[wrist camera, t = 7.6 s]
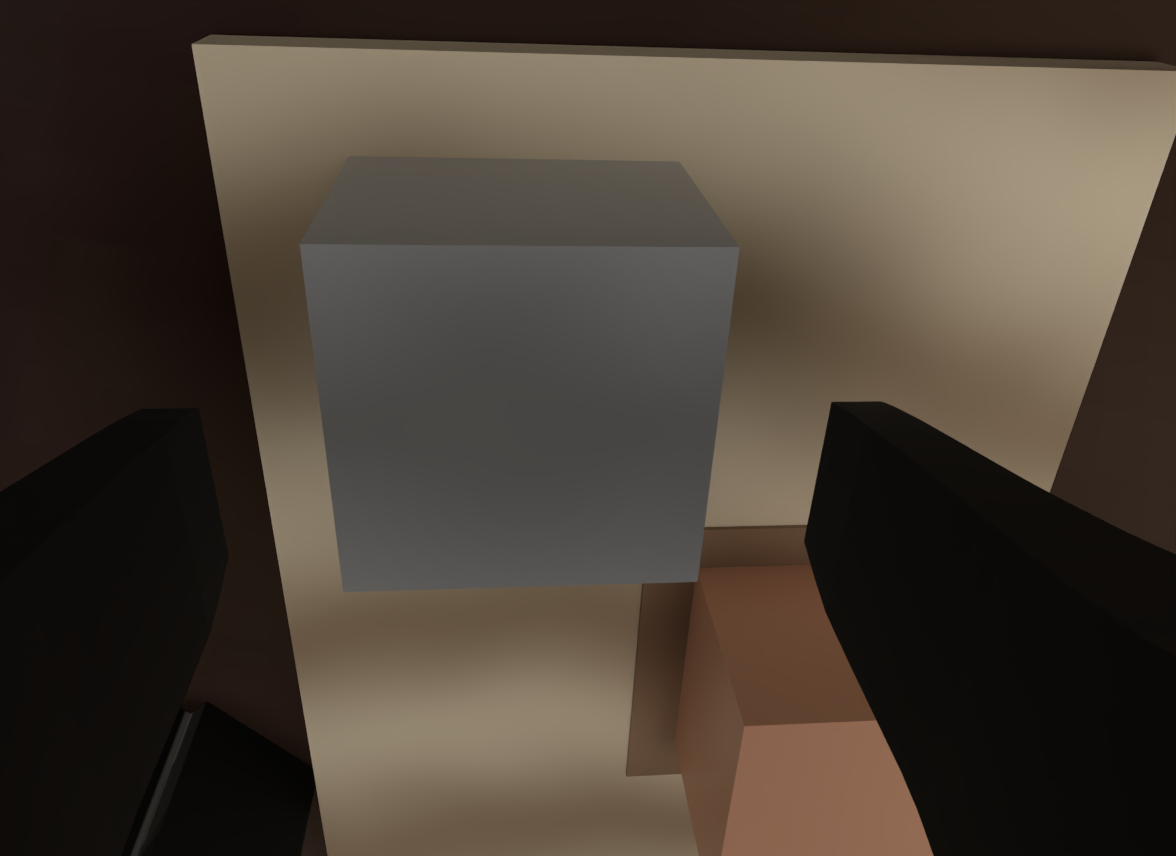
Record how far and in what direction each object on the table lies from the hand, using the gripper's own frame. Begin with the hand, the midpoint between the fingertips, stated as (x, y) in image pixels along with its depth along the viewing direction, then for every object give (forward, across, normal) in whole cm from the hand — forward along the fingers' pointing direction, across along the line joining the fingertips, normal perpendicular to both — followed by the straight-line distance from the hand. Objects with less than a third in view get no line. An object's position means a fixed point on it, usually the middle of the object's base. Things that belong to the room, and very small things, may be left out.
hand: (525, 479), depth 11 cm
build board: (+6, -3, +8) cm, 10 cm away
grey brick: (+5, 0, 0) cm, 5 cm away
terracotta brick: (+5, -6, +8) cm, 11 cm away
